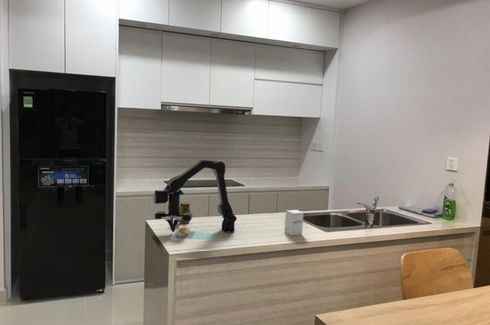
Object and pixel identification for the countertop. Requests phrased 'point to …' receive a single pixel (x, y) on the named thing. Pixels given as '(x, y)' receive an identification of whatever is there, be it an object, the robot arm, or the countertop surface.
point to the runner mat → (196, 235)
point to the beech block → (183, 230)
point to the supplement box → (293, 222)
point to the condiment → (184, 210)
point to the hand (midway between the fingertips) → (173, 231)
